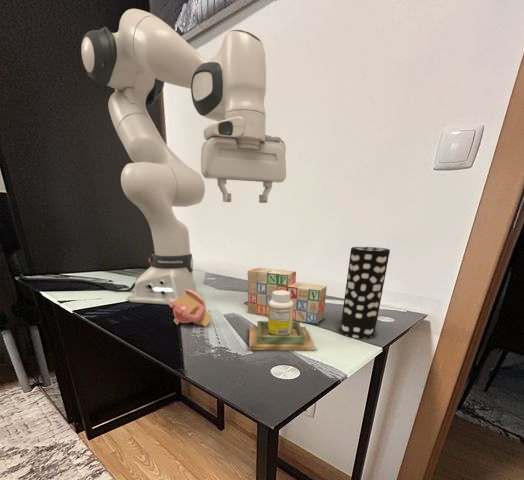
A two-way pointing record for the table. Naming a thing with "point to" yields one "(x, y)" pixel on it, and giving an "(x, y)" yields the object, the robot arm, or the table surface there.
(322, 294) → the stack of blocks
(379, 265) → the spotted tube
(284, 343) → the wooden board green frame
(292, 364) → the table surface
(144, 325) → the table surface
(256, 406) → the table surface
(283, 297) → the supplement bottle
